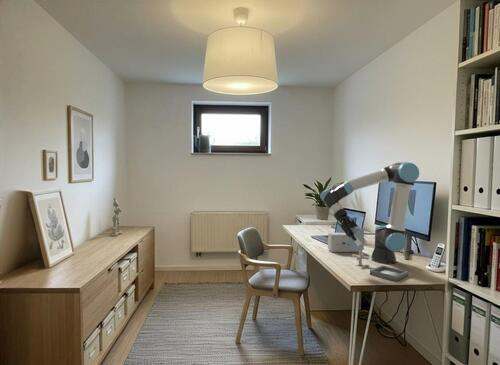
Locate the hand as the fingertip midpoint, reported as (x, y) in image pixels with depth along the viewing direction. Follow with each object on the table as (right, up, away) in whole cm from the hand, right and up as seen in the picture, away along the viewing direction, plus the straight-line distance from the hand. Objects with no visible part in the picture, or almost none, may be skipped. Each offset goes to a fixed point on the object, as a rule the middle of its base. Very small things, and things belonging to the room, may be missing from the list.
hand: (362, 244), depth 188 cm
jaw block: (-2, -4, +3) cm, 5 cm away
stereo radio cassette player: (+4, -15, +53) cm, 55 cm away
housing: (+15, -18, +1) cm, 23 cm away
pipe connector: (+5, -17, +20) cm, 26 cm away
